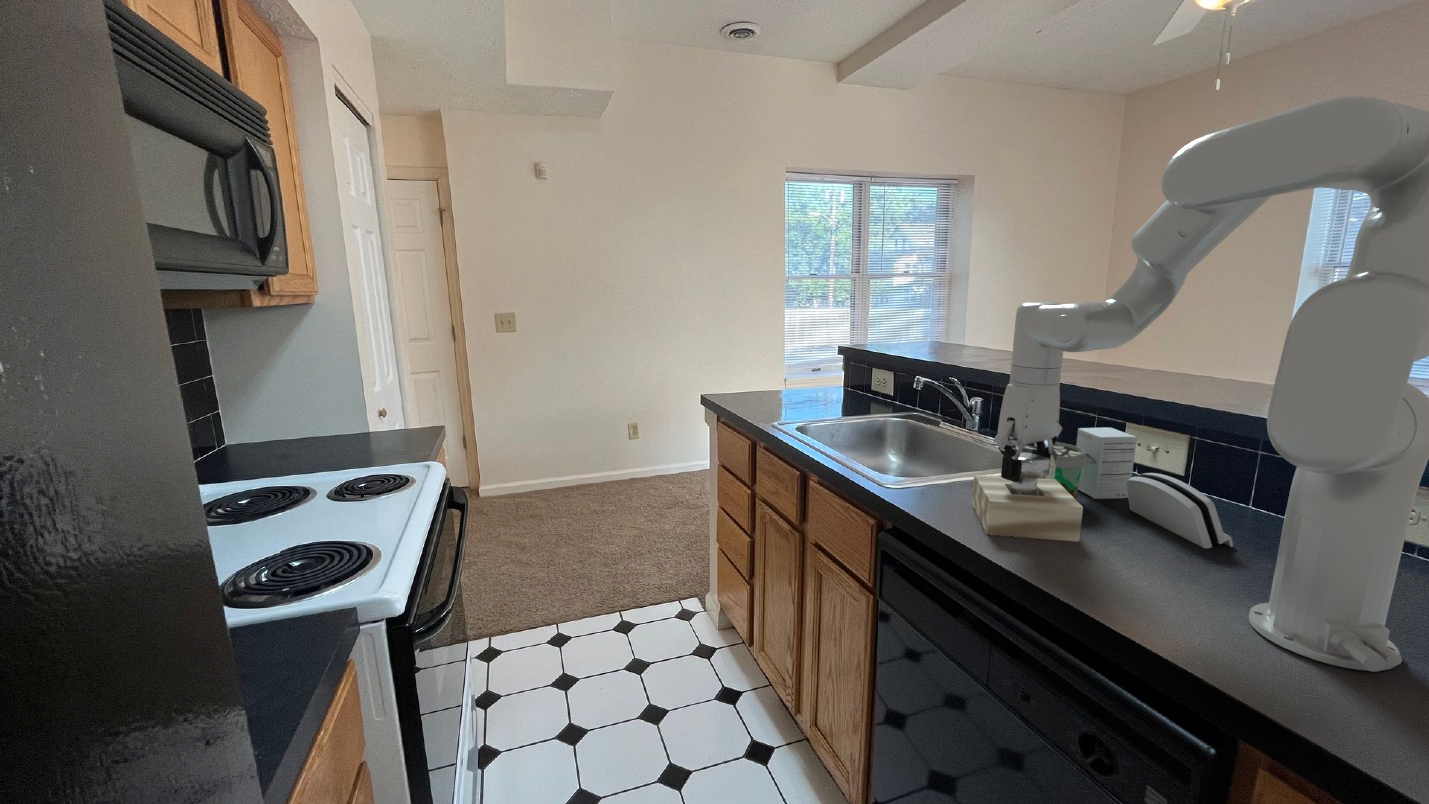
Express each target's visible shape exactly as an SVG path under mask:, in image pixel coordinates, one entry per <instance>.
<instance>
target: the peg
mask: <svg viewBox="0 0 1429 804" xmlns="http://www.w3.org/2000/svg"><path fill="white" fill-rule="evenodd" d="M1019 459H1020V460H1021V471H1020V480H1019V482H1013V481H1012V482H1011V494H1019V495H1035V496H1036V491H1037V481H1038V478H1039V479H1043V478H1044V477H1047V476H1048V471H1049V462H1050V460H1049V459H1048V458H1046V457H1044V456H1041V455H1038V454H1033V453H1032V452H1023V451H1022V452H1021V454H1020V457H1019Z"/></svg>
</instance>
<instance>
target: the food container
mask: <svg viewBox="0 0 1429 804" xmlns="http://www.w3.org/2000/svg"><path fill="white" fill-rule="evenodd" d="M1053 447H1054V450H1053V452H1052V453H1051V458H1050V468H1049V474H1048V476H1047V477H1044V478H1042V479H1056V480H1057V481H1058V482H1059V483H1060V484H1061V485H1062V486H1063V487H1064V488H1065V489H1066V490H1067V491H1068V492H1069V493H1070V494H1071V495H1072V496H1073V497H1074V498H1075V500H1076V498H1077V494H1078V485H1079V480H1080V475H1081V470H1082V466H1084V465H1086V464H1087V459H1086V454H1085V452H1084V450H1083V449H1081V448H1079V447H1076V445H1073V444H1069V443H1065V442H1064V443H1063V442H1060V441H1059V442H1058V441H1056V442H1055V444H1054V445H1053ZM1049 453H1050V452H1049Z"/></svg>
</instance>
